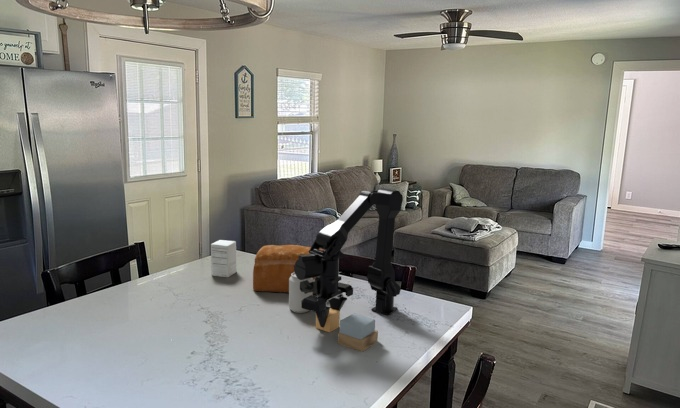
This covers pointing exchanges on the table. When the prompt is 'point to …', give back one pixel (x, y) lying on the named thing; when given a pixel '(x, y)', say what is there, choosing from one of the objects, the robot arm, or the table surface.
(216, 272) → the supplement box
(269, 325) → the table surface
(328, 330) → the ochre cube
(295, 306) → the can
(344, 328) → the slate block
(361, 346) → the walnut base block
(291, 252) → the bread
